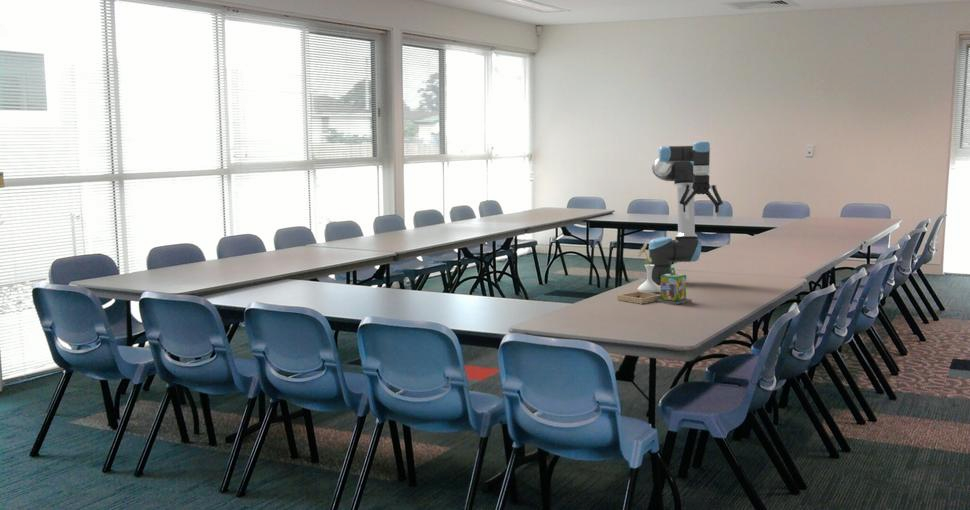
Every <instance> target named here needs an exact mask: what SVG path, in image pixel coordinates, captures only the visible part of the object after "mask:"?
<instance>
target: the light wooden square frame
mask: <svg viewBox="0 0 970 510" xmlns="http://www.w3.org/2000/svg"><path fill="white" fill-rule="evenodd" d="M638 296H639V297H638ZM616 297H617V299H616V300H617V301H620V300H621V302H626V301H628V302H627V303H632V302H634V303H633V304H638V303H640V304H639V305H643V304H642V303H645V304H648V302H650V303H654V302H653V301H655V302H656V299H661V293H647V292H641V291H638V290H637V291H632V292H626V293H621V294H617V296H616Z"/></svg>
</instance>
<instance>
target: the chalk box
mask: <svg viewBox="0 0 970 510" xmlns="http://www.w3.org/2000/svg"><path fill="white" fill-rule="evenodd" d="M672 272H673V273H672ZM670 273H671V274H664V275H661V284H660V288H661V291H660V295H661V300H671V301H680V300H684V299H687V274H681V273H676V270H675V267H672V266H671V268H670Z"/></svg>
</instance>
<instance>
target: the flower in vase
mask: <svg viewBox="0 0 970 510" xmlns="http://www.w3.org/2000/svg"><path fill="white" fill-rule="evenodd" d="M647 246H648V244H647V242H645V243H643V245H642V247H641V248H640V251H639V252H638V255H637V257H638V258H639V257H641V256H642V255H643V254H644V253H645V256H646V259H645V260H644V261H643V264H644V267H645V269H646V275H647V280H646V281H644V282H642V284H640V285H639V286H638V287H637V291H641V292H647V293H654V294H658V293H661V286H660V285H659V284H656V283H655V282H653V280H652V269H653V267H654V265H651V264H649V263H650V262H652V259H651V257H650V258H649V256H648V254H647V252H646V248H647ZM646 263H647V264H646Z"/></svg>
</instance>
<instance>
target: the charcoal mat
mask: <svg viewBox="0 0 970 510" xmlns="http://www.w3.org/2000/svg"><path fill="white" fill-rule="evenodd" d="M656 301H657V302H656ZM656 301H655V302H656V303H661V302H664V303H663V304H667V303H670V304H669V305H674V304H677V305H680V304H679V303H682V304H686V303H685V302H687V303H691V302H692V299H690V298H686V299H684V300H680V301H671V300H661V299H656ZM690 301H691V302H690Z"/></svg>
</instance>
